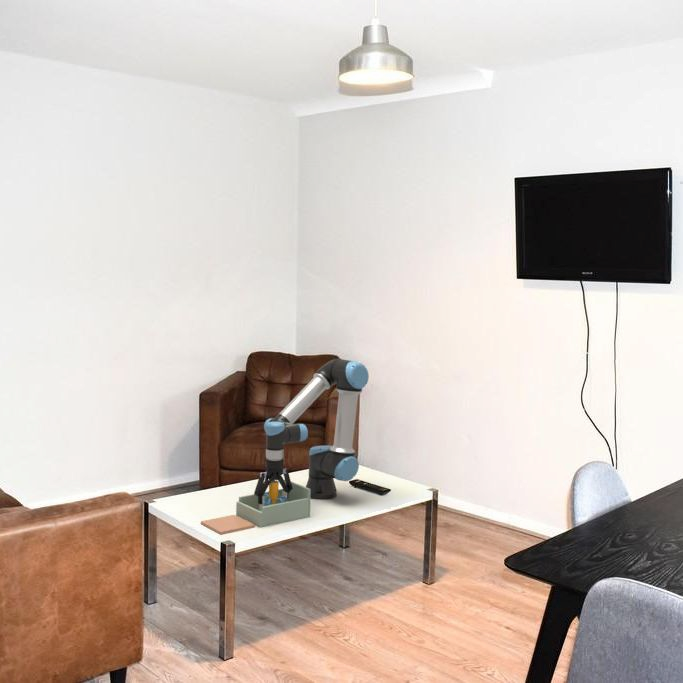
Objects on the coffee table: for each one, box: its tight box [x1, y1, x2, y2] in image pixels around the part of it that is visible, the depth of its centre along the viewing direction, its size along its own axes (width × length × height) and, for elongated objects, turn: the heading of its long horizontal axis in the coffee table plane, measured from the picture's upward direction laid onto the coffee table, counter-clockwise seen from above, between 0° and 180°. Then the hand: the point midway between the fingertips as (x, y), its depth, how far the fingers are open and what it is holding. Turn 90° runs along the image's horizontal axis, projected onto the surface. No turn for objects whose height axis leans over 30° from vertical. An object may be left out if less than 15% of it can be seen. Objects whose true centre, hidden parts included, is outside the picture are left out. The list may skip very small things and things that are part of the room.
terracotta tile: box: [200, 514, 256, 535], centre depth 335 cm, size 16×16×1 cm
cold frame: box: [235, 479, 311, 528], centre depth 348 cm, size 25×18×12 cm
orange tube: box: [264, 480, 287, 506], centre depth 348 cm, size 12×10×15 cm
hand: (273, 509), depth 349 cm, fingers closed on orange tube, 11 cm apart
